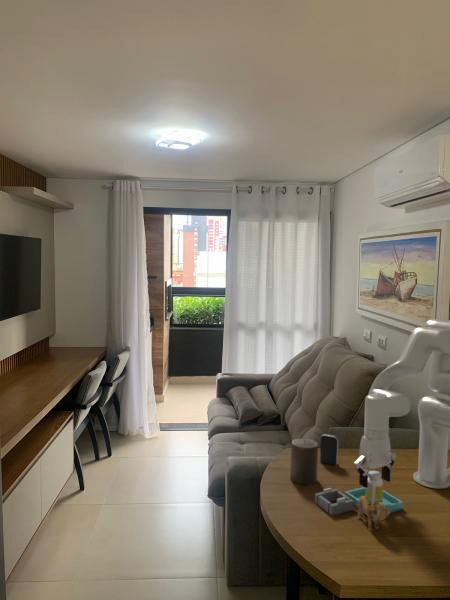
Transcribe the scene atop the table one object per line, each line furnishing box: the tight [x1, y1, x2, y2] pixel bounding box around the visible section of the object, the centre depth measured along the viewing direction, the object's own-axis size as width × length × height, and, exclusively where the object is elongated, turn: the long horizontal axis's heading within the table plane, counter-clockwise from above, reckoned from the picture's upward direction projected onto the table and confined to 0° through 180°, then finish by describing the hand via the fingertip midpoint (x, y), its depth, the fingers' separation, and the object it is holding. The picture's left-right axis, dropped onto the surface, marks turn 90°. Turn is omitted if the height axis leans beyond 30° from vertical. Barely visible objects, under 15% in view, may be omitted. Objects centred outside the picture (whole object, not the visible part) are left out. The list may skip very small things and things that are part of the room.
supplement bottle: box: [366, 470, 384, 503], centre depth 148 cm, size 5×5×10 cm
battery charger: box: [319, 433, 340, 466], centre depth 180 cm, size 7×4×11 cm, turn 61°
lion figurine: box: [354, 496, 391, 532], centre depth 137 cm, size 15×5×9 cm, turn 20°
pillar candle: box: [289, 438, 319, 486], centre depth 165 cm, size 10×10×15 cm
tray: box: [344, 486, 404, 514], centre depth 148 cm, size 13×13×2 cm
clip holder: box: [314, 487, 355, 517], centre depth 146 cm, size 9×9×4 cm
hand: (374, 482), depth 148 cm, fingers open, 9 cm apart
